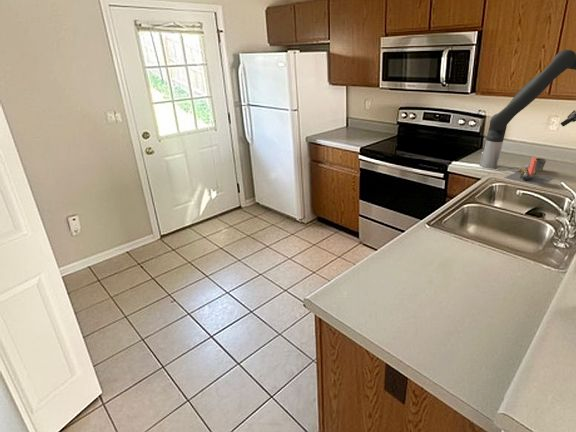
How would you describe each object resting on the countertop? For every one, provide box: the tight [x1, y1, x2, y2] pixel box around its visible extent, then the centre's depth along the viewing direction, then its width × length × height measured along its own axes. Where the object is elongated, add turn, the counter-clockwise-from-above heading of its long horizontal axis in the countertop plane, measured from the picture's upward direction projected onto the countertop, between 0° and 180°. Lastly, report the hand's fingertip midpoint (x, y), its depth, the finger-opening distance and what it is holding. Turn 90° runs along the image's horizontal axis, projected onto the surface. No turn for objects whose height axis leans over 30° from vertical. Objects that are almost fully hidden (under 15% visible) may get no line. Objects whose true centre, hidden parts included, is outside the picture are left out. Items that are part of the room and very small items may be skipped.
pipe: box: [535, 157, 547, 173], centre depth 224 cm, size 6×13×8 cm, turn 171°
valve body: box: [520, 167, 536, 181], centre depth 210 cm, size 6×16×5 cm, turn 149°
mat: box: [503, 170, 555, 187], centre depth 210 cm, size 19×21×1 cm
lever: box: [524, 156, 537, 176], centre depth 202 cm, size 16×4×8 cm, turn 154°
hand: (561, 125), depth 202 cm, fingers closed
